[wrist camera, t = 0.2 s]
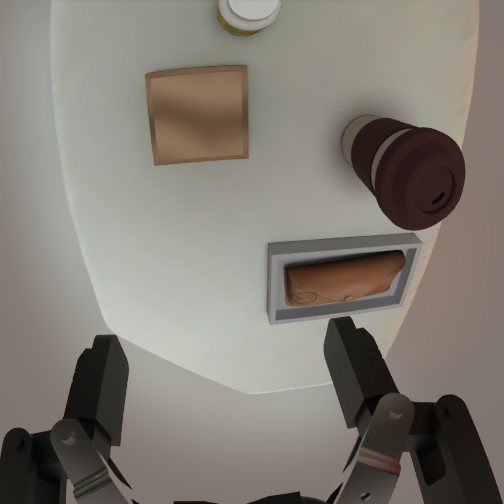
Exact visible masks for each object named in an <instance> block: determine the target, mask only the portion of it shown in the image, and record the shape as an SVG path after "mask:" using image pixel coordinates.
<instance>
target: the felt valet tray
mask: <svg viewBox="0 0 504 504" xmlns="http://www.w3.org/2000/svg"><path fill="white" fill-rule="evenodd" d="M422 244H423V243H422V242H421V240H420V239H419V238H418V237H417V236H416V235H415V234H414V233H407V234H392V235H377V236H363V237H348V238H334V239H320V240H306V241H292V242H278V243H268V292H267V314H268V319H269V323H270V325H274V324H283V323H292V322H301V321H309V320H317V319H325V318H332V317H339V316H346V315H353V314H360V313H366V312H373V311H379V310H385V309H391V308H397V307H402V305H403V303H404V300H405V297H406V294H407V291H408V288H409V285H410V282H411V279H412V276H413V273H414V270H415V267H416V264H417V261H418V257H419V254H420V250H421V247H422ZM392 250H402V251H403V253H404V255H405V259H406V264H405V267H404V268H403V270H402V271H400V272H399V273H398V274H397V276H396V277H395V279H394V280H393V282H392V283H391V286H390V288H389V290H387V291H386V292H383V293H379V294H375V295H371V296H366V297H361V298H359V299H356V300H353V301H348V302H342V303H338V302H333V303H326V304H319V305H311V306H299V307H294V306H288V305H287V304H286V300H285V285H284V268H288V267H293V266H300V265H308V264H316V263H322V262H329V261H337V260H343V259H349V258H356V257H363V256H367V255H372V254H377V253H382V252H386V251H392Z"/></svg>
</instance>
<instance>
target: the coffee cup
mask: <svg viewBox="0 0 504 504" xmlns="http://www.w3.org/2000/svg"><path fill="white" fill-rule="evenodd" d="M342 150H343V154H344V156H345V158H346V160H347V161H348V163H349V164H350V165H351V166H352V167H353V168H354V171H355V172H356V174H357V176H358V177H359V178H360V179H361V180H362V182H363V183H364V184H365V185H366V186H367V188H368V189H369V190H370V191H371V192H372V194H373V195H374V196H375V197H376V199H377V202H378V205H379V207H380V208H381V210H382V212H383V213H384V214H385V215H386V216H387V217H388V218H389V219H390V221H391V222H392V223H394V224H395V225H396V226H398V227H400V228H402V229H405V230H412V231H416V230H422V229H426V228H429V227H431V226H433V225H435V224H437V223H438V222H440V221H441V220H443V219H444V218H445V217H447V216H448V215H449V214H450V213H451V212H452V211H453V210H454V208H455V207H456V205H457V203H458V202H459V200H460V197H461V194H462V191H463V186H464V181H465V162H464V158H463V154H462V152H461V150H460V148H459V146H458V145H457V143H456V142H455V141H454V140H453V139H452V138H450V137H449V136H448V135H446V134H444V133H442V132H440V131H438V130H435V129H432V128H426V127H420V128H419V127H416V126H413V125H410V124H407V123H404V122H400V121H397V120H394V119H390V118H381V117H378V116H374V115H366V116H362V117H359V118H357V119H355V120H354V121H353V122H352V123H351V124H350V125H349V126H348V127H347V128H346V130H345V132H344V135H343V139H342Z"/></svg>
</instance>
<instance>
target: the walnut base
mask: <svg viewBox="0 0 504 504" xmlns="http://www.w3.org/2000/svg"><path fill="white" fill-rule="evenodd" d="M145 77H146V90H147V102H148V113H149V123H150V132H151V141H152V149H153V157H154V165H155V166H158V165H168V164H178V163H189V162H201V161H214V160H228V159H246V158H249V149H248V95H247V65H228V66H210V67H196V68H185V69H176V70H167V71H159V72H152V73H147V74H145Z"/></svg>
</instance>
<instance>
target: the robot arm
mask: <svg viewBox="0 0 504 504" xmlns="http://www.w3.org/2000/svg"><path fill="white" fill-rule="evenodd" d="M324 356H325V360H326V363H327V366H328V369H329V372H330V375H331V378H332V381H333V384H334V387H335V390H336V393H337V396H338V400H339V403H340V405H341V408H342V412H343V415H344V418H345V421H346V425H347V428H348V429H350V428H354V427H357V429H358V432H359V435H358V437H357V439H356V442H355V444H354V446H353V448H352V450H351V452H350V455H349V457H348V459H347V461H346V463H345V465H344V467H343V470H342V471H341V473H340V475H339V477H338V479H337V480H336V482H335V484H334V485H333V487H332V489H331V490H330V492H329V494H328V496H327V498H326V500H325V501H322V500H319V499H315V498H311V497H304V496H300V492H293V493H287V494H281V495H274V496H268V497H265V498H262V499H259V500H257V501H254V502H251V503H248V504H388V503H389V500H390V498H391V496H392V493H393V491H394V488H395V486H396V483H397V481H398V478H399V475H400V472H401V466H400V465H399V462H400V459H401V456H402V453H403V452H410V455H411V458H412V462H413V465H414V468H415V472H416V476H417V479H418V482H419V486H420V490H421V493H422V497H423V501H424V504H503V503H502V500H501V496H500V493H499V490H498V487H497V484H496V481H495V478H494V475H493V472H492V469H491V466H490V463H489V461H488V458H487V456H486V453H485V450H484V447H483V445H482V442H481V440H480V437H479V435H478V432H477V430H476V427H475V425H474V423H473V420H472V418H471V416H470V413H469V411H468V409H467V406H466V404H465V403H464V401H463V400H462V399H461V398H459V397H458V396H455V395H451V394H450V395H444V396H442V397H441V398H440V399H439V400H438V401H437V402H436V403H431V402H428V403H427V402H413V401H411V400H410V399H409V398H408V397H406V396H405V395H403V394H400V392H399V391H398V389H397V387H396V385H395V383H394V381H393V378H392V376H391V374H390V372H389V370H388V368H387V365H386V363H385V361H384V359H383V358H382V355H381V352H380V350H378V346H377V344H376V342H375V340H374V338H373V336H372V335H371V334H370V333H369V332H368V331H367V330H365V329H364V328H358V329H356V327H355V325H354V323H353V320H352V318H351V317H350V316H345V317H338V318H331V319H330V320H329V323H328V328H327V332H326V337H325V341H324ZM128 374H129V366H128V361H127V358H126V356H125V353H124V351H123V349H122V347H121V345H120V342H119V340H118V338H117V336H116V335H96V337H95V339H94V342H93V346H92V349H87V348H86V349H85V350H84V351H83V353H82V354H81V356H80V357H79V358H78V361H77V364H76V369H75V373H74V376H73V382H72V384H71V388H70V392H69V396H68V400H67V404H66V409H65V413H64V417H63V419H62V420H60V421H58V422H57V423H56V424H55V425H54V426H53V427H52V429H51V430H49V431H45V432H39V433H34V434H29V433H28V432H27V431H26V430H25V429H23V428H14V429H11V430H10V431H9V432H8V433H7V434H6V435H5V437H4V441H3V445H2V451H1V457H0V504H66V483H67V479H70V481H71V483H72V484H73V486H74V489H75V490H74V491H73V494H74V497H75V499H76V501H77V503H78V504H148V503H147V502H146V501H145V500H144V499H143V498H142V497H141V496H140V495H139V494H138V493H137V491H136V490H135V489H134V488H133V487H132V485H131V484H130V482H129V481H128V480H127V478H126V477H125V476H124V474H123V473H122V471H121V470H120V468H119V467H118V466H117V464H116V463H115V461H114V460H113V458H112V457H111V455H110V449H111V446H120V442H121V431H122V422H123V413H124V405H125V397H126V388H127V381H128ZM174 504H217V503H211V502H206V501H174Z"/></svg>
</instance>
